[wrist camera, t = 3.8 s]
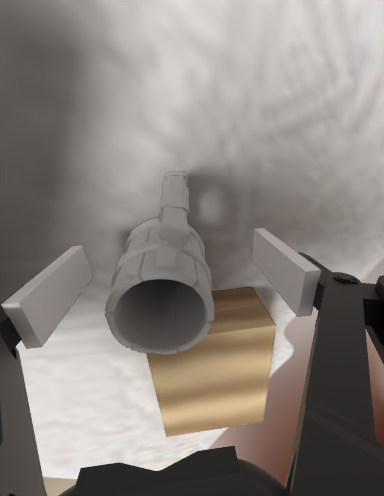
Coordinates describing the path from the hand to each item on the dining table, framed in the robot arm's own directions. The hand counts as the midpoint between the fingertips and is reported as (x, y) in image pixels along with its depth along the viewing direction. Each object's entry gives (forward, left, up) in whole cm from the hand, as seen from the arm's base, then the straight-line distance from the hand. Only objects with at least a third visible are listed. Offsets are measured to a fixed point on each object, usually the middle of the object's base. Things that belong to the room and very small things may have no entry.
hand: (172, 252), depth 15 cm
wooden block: (+16, +3, -5) cm, 17 cm away
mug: (0, 0, -5) cm, 5 cm away
